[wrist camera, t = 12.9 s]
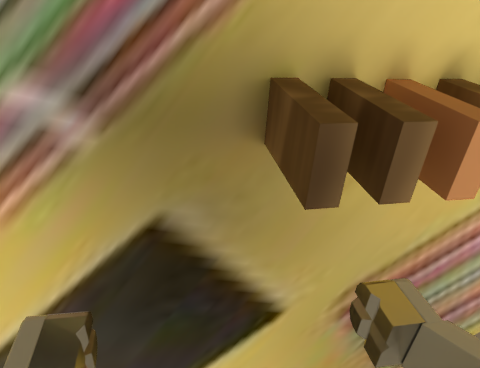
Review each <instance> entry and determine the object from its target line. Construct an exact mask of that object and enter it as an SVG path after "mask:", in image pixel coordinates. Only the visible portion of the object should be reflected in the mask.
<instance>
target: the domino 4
mask: <svg viewBox="0 0 480 368" xmlns="http://www.w3.org/2000/svg"><path fill="white" fill-rule="evenodd" d="M436 90H437V91H439V92H442V93H444V94H447V95H449V96H451V97H454V98H456V99H459V100H461V101H463V102H466V103H468V104H471V105H473V106H475V107H478V108H480V85H478V84H475V83H472V82H469V81H466V80H463V79H440V80H439V83H438V86H437V89H436Z"/></svg>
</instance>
